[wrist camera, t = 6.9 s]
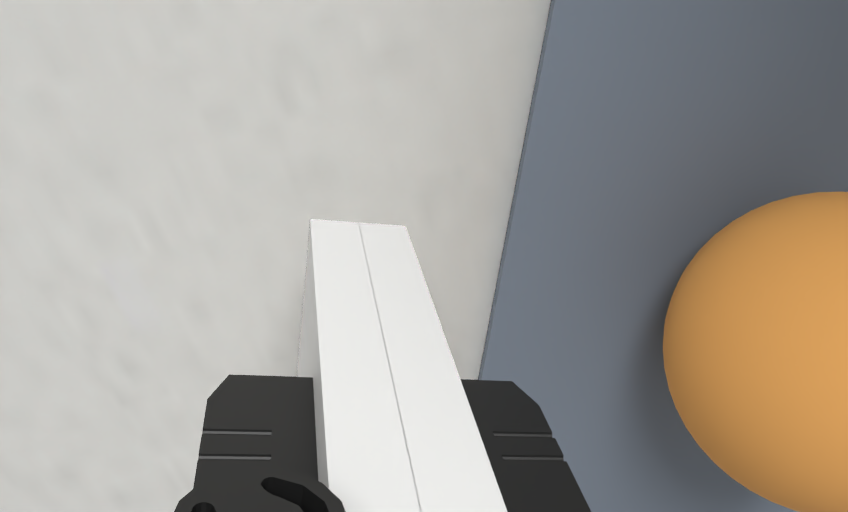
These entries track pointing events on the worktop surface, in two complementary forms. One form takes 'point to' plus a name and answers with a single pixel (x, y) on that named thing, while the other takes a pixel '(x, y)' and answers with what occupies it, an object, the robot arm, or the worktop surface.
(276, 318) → the worktop surface
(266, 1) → the worktop surface
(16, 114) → the worktop surface
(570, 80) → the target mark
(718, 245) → the ball
